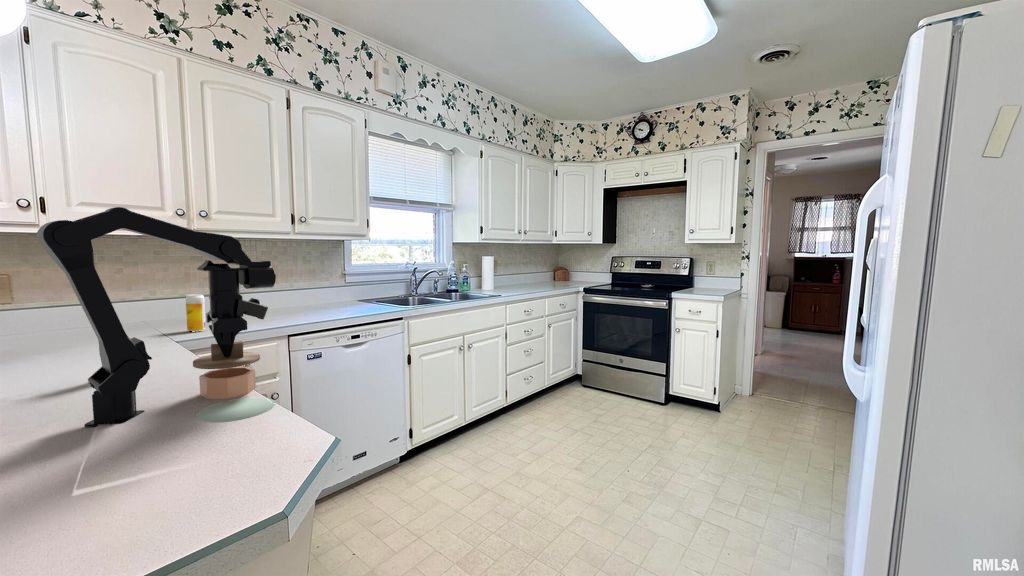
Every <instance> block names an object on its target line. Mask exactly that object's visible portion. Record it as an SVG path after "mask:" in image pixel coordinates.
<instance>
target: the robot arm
mask: <svg viewBox="0 0 1024 576" xmlns="http://www.w3.org/2000/svg"><path fill="white" fill-rule="evenodd" d="M118 230H124V231H128V232H132V233H135V234H138V235H141V236H145V237H150V238H153V239H156V240H161V241H164V242H167V243H171V244H174V245H179V246H182V247H185V248H188V249H190V250H191V251H193V252H195V253H198V254H200V255H202V256H204V257H206V258H209V259H211V260H209V259H208V260H204V262H203V263H201V264H200V265H199V266H198V267H197V268H196V270H197V271H203V272H208V282H209V283H208V284H209V285H208V286H209V287H208V289H209V293H208V299H209V307H210V308H209V311H207V313H205V323H208V324H209V323H211V324H209V325H208V328H209V330H210V333H212V335H213V338H214V340H215V342H216V344H218V345H219V347H220V349H221V351H222V353H223V355H224V357H225V358H228V357H231V353H232V349H233V344H234V342H235V340H236V337H237V335H238V334H239V333H241V332H242V331H247V330H248V321H247V320H246V319H245V318H244V315H246V316H250V317H253V318H257V319H259V320H264V319H265V318H266V315H267V312H268V309H269V307H268V306H267V305H264V304H261V303H260V300H259V299H257V298H254V297H250V299H249V300H245V299H243V295H241V293H240V285H241V286H243V287H244V289H247V290H250V289H253V290H254V289H271V288H273V287H274V286H275V283H276V279H277V277H276V276H277V275H276V274H275V270H274V268H273V267H272V262H271V261H270V260H258V261H252V260H251V258H250V257H249V256H248V255H247V254H246V253H245V251H244V250H243V248H242V244H241V243H240V241H239V239H238V238H236V237H235V236H232V235H225V234H219V233H212V232H205V231H204V232H203V231H198V230H194V229H190V228H187V227H184V226H180V225H177V224H175V223H171V222H168V221H164V220H161V219H158V218H155V217H151V216H148V215H145V214H141V213H138V212H135V211H133V210H130V209H128V208H127V207H123V206H122V207H121V206H117V207H115V206H114V207H111V208H108V209H105V210H104V211H102V212H98V213H95V214H92V215H89V216H85V217H82V218H79V219H76V220H67V219H64V220H62V219H61V220H60V219H59V220H53V221H50V222H49V221H48V222H46V223H44V224H43V225H41V226H40V227H39V228H38V229H37V231H36V239H37V241H38V243H39V244H40V245H41V247H42V248H43V249H44V251H45V252H46V253H47V254H48V255H49V257H50V258H51V260H53V261H54V263H56V265H57V266H58V267H59V268H60V269H61V270H62V271H63V272H64V274H65V276H66V278H67V279H68V282H69V284H70V286H71V288H72V291H73V292H74V294H75V296H76V298H77V300H78V302H79V304H80V306H81V308H82V310H83V312H84V314H85V316H86V318H87V320H88V323H89V324H90V326H91V328H92V330H93V332H94V334H95V336H96V338H97V341H98V352H99V357H100V362H101V367H99V368H98V369H97V370H96V371H95V372H94V373H93V374H92V375H90V376H89V377H88V378H87V382H88V383H89V385H90V386H91V388H92V389H94V391H93V394H91V402H92V414H93V419H92V420H90V421H87V422H85V423H84V427H86V428H88V427H98V426H100V425H103V426H105V425H121V424H124V423H127V422H129V421H131V420H132V419H133V418H136V417H137V416H140V415H141V414H143V413H144V412H145V410H143V409H142V410H137V397H136V393H137V392H136V391H137V389H138V385H139V383H140V381H141V379H142V378H144V377H145V376H146V375H147V373H148V371H150V368H151V365H150V361H149V360H153V358H152V356H150V355H149V353H148V352H147V349H146V345H145V342H144V341H143V340H141V338H140V339H139V338H137V337H132V338H131V337H129V336H128V334H127V333H126V331H125V328H124V329H123V327H124V326H123V324H122V321H120V318H119V316H118V313H117V312H116V310H115V307H114V305H113V304H112V302H111V299H110V297H109V295H108V293H107V290H106V288H105V286H104V284H103V283H102V280H101V278H100V276H99V274H98V271H97V270H96V267H95V257H94V248H93V245H92V240H95V239H98V238H100V237H103V236H105V235H107V234H111V233H112V232H116V231H118ZM212 260H213V261H220V263H217V262H213V261H212ZM221 261H222V263H221ZM223 262H224V263H223ZM230 265H235V266H239V267H231V266H230Z"/></svg>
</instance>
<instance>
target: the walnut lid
mask: <svg viewBox="0 0 1024 576" xmlns="http://www.w3.org/2000/svg"><path fill="white" fill-rule="evenodd" d="M260 359H261V354H260V353H258V352H253V351H244V343H243V341H242V340H241V341H234V344H233V349H232V353H231V357H228V358H225V357H224V355H223V353H222V351H221V349H220V347H219V345H218V344H217V343H211V344H210V355H205V356H201V357H198V358H195V359H194V360H193V361H192V367H194V368H195V369H199V370H217V369H224V368H233V367H245V366H248V365H251V364H254V363H257V362H259V361H260Z"/></svg>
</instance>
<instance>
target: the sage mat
mask: <svg viewBox="0 0 1024 576" xmlns="http://www.w3.org/2000/svg"><path fill="white" fill-rule="evenodd" d="M265 398H266V397H259V396H258V397H257V396H254V397H241V398H234V399H229V400H224V401H221V402H217V403H214V404H211V405H208V406H206V407H204V408H202V409H201V410H199V411H198V412H197V413H196V415H195V418H196V420H198V421H201V422H205V423H229V422H235V421H237V422H238V421H241V420H246V419H247V420H248V419H251V418H255V417H256V416H259V415H263V414H265V413H267V412H269V411H271V410H272V409H273V408H274V407H275V406H276V401H275V400H274V399H272V398H268V397H267V398H266V399H265ZM267 399H268V400H270V401H271V402H272V403H271V402H270V401H268V400H267ZM274 403H275V404H274Z"/></svg>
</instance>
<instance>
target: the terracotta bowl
mask: <svg viewBox="0 0 1024 576" xmlns="http://www.w3.org/2000/svg"><path fill="white" fill-rule="evenodd" d="M256 385H257V384H256V369H254V368H252V367H249V366H239V367H233V368H224V369H211V370H209V371H207V372H204V373H203V374H201V375H199V394H200V397H202V398H204V399H206V400H223V399H225V400H226V399H232V398H236V397H240V396H241V397H242V396H244V395H248V394H249V393H251V392H253V391H254V390H255V389H256Z"/></svg>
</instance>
